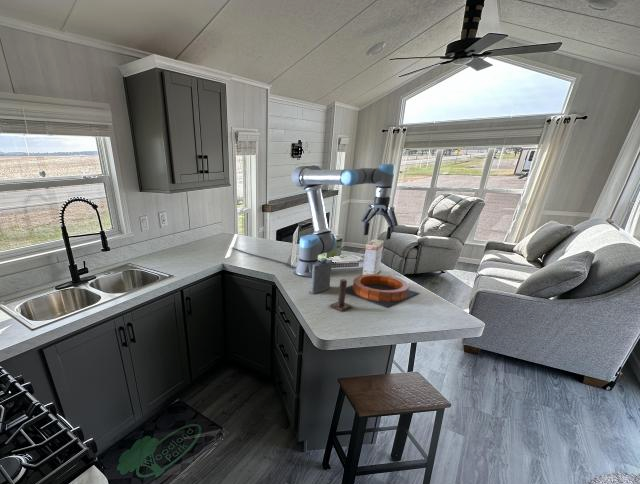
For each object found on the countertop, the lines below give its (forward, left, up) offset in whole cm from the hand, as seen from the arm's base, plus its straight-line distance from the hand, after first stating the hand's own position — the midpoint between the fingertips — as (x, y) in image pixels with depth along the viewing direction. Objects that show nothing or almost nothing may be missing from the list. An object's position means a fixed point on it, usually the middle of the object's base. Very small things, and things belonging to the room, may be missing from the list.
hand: (376, 237), depth 177 cm
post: (+11, -39, -27) cm, 49 cm away
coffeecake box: (-10, +15, -27) cm, 32 cm away
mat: (+11, -8, -27) cm, 30 cm away
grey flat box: (-10, -30, -27) cm, 42 cm away
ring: (+11, -8, -26) cm, 30 cm away
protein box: (-45, +15, -27) cm, 55 cm away
